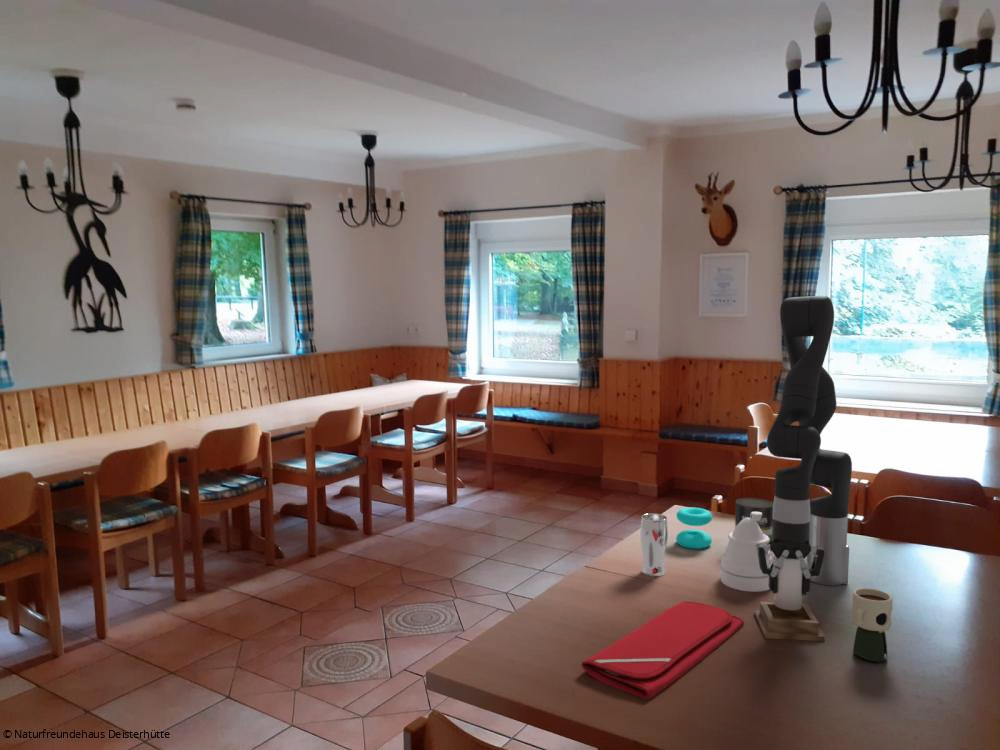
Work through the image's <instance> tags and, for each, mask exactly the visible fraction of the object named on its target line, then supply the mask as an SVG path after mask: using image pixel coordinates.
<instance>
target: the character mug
mask: <svg viewBox="0 0 1000 750" xmlns="http://www.w3.org/2000/svg"><path fill="white" fill-rule="evenodd" d="M893 602H894V601H893V597H892V595H891V594H890V593H888V592H886V591H884V590H881V589H877V588H871V587H858V588H855V589H854V590H853V591H852V603H851V604H852V606H851V607H852V611H851V619H852V623H853V624H854V625H855V626H857V628H856V631H855V637H854V643H853V649H852V652H853V653H854V654H855V655H857V656H859V657H861V658H863V659H865V660H867V661H870V662H871V661H872V662H884V661H885V655H886V659H888V645H887V635H886V632H887V631H889V630H890V629H891V627H892V624H893V621H892V618H891V616H892V612H893Z"/></svg>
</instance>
